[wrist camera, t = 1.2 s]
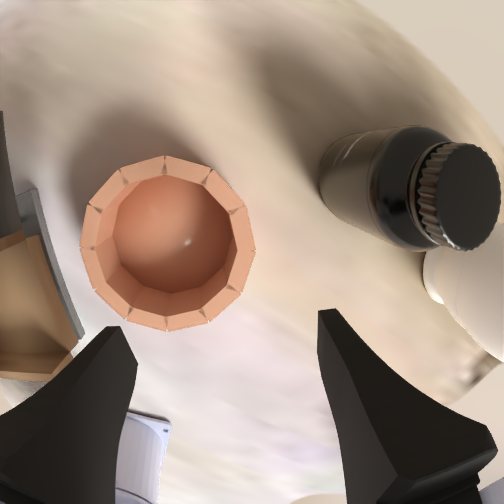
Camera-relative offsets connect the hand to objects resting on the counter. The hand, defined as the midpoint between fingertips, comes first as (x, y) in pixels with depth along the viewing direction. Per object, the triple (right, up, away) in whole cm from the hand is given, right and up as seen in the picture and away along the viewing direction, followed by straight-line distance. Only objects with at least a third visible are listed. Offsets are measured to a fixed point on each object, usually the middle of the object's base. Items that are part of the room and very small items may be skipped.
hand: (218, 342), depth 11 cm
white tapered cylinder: (+20, +2, +15) cm, 25 cm away
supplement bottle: (+9, +9, +12) cm, 17 cm away
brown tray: (-16, +3, +4) cm, 17 cm away
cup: (-4, +4, +10) cm, 12 cm away
